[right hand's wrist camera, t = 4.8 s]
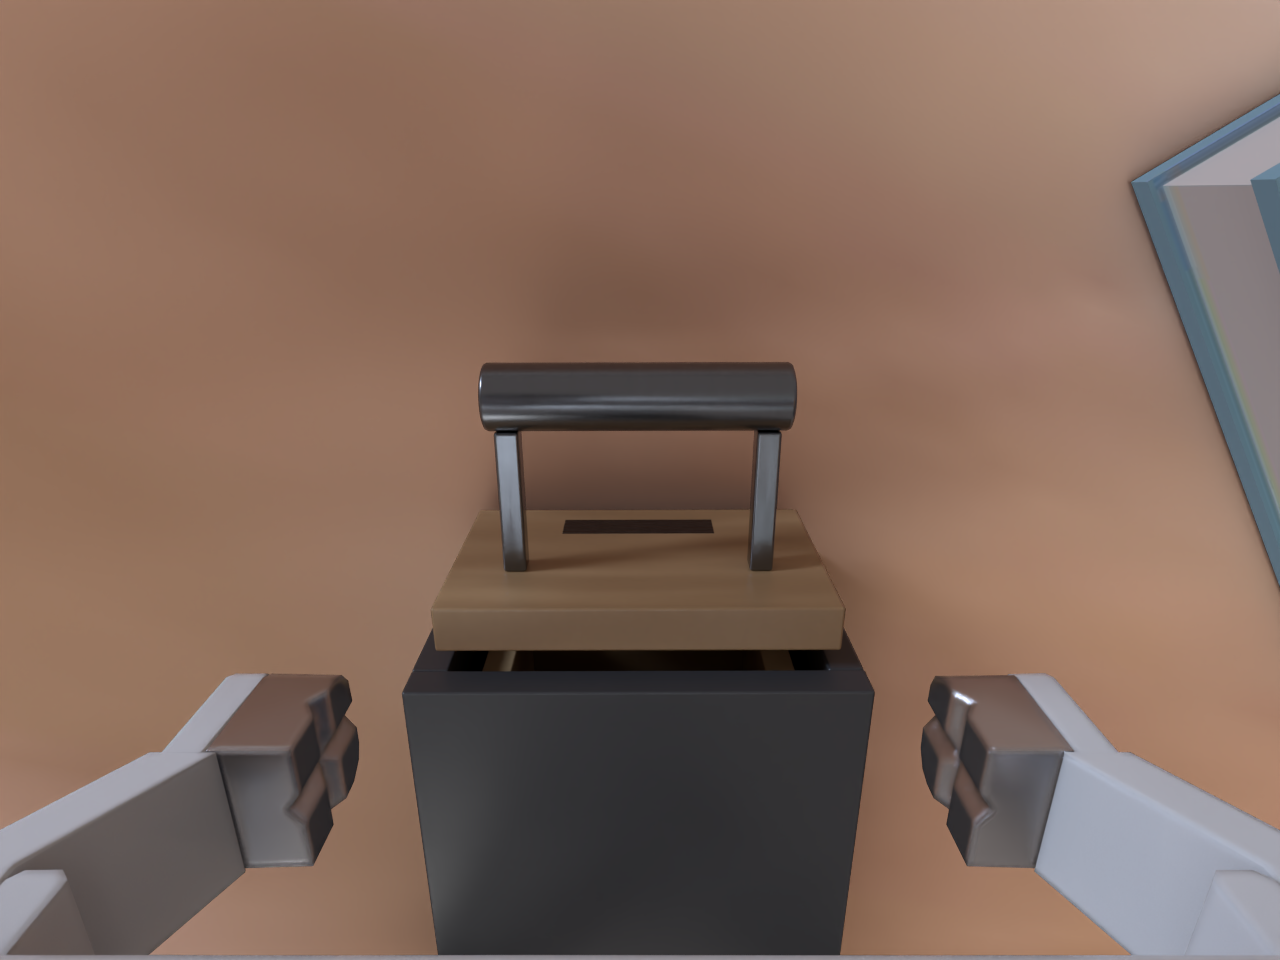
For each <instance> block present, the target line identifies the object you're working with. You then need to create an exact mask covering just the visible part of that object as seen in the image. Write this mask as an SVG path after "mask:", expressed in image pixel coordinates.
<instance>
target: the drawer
mask: <svg viewBox="0 0 1280 960" xmlns="http://www.w3.org/2000/svg"><path fill="white" fill-rule="evenodd" d="M478 402H479V412H480V418H481V422H482V424H483V427H484V429H485V430H487V431H496V432H495V434H494V444H495V457H496V471H497V484H498V497H499V510H481V511H480V512H479V514H478V516H477V518H476V520H475V522H474V524H473V526H472V528H471V530H470V532H469V534H468V536H467V538H466V540H465V542H464V544H463V546H462V548H461V550H460V552H459V554H458V556H457V558H456V560H455V562H454V564H453V566H452V568H451V570H450V572H449V574H448V576H447V578H446V580H445V582H444V584H443V586H442V588H441V590H440V592H439V594H438V596H437V598H436V600H435V602H434V604H433V606H432V608H431V616H432V624H433V633H434V641H435V649H436V650H437V651H489V652H488V655H487V658H486V661H485V664H484V667H483V670H482V671H778V670H795V669H794V666H793V663H792V660H791V657H790V654H789V651H788V650H840V649H841V645H842V636H843V627H844V618H845V607H844V605H843V603H842V601H841V599H840V597H839V595H838V593H837V591H836V589H835V587H834V585H833V583H832V581H831V579H830V577H829V575H828V573H827V571H826V569H825V567H824V565H823V563H822V561H821V559H820V557H819V555H818V553H817V551H816V549H815V547H814V545H813V543H812V541H811V539H810V537H809V535H808V533H807V531H806V529H805V527H804V525H803V523H802V521H801V519H800V517H799V515H798V513H797V511H796V510H777V496H778V482H779V467H780V453H781V438H782V434H781V432H780V430H789V429H791V427H792V425H793V422H794V419H795V414H796V407H797V380H796V374H795V370H794V367H793V365H792V364H791V363H789V362H627V363H486V364H484V365H483V366H482V368H481V372H480V376H479V384H478ZM749 430H754V446H753V464H752V482H751V500H750V510H526V499H525V483H524V467H523V450H522V434H521V431H749Z"/></svg>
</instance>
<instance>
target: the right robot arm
mask: <svg viewBox="0 0 1280 960" xmlns="http://www.w3.org/2000/svg"><path fill="white" fill-rule="evenodd" d="M351 702H352V697H351V693H350V688H349V683H348V680H347V679H345V678H344V677H343V676H342V675H310V674H234V675H231V676H228V677H226V678H225V679H224V680H223V682H222V683H221V684H220V685H219V686H218V687H217V689H216V690H215V691H214V692H213V693H212V694H211V695H210V697H209V698H208V699H207V700H206V701H205V702H204V704H203V705H202V706H201V707H200V708H199V709H198V711H197V712H196V713H195V714H194V715H193V716H192V717H191V719H190V720H189V721H188V722H187V723H186V724H185V726H184V727H183V728H182V729H181V730H180V731H179V733H178V734H177V735H176V736H175V737H174V738H173V740H172V741H171V742H170V743H169V744H168V745H167V746H166V748H165V749H164V750H163V751H162V752H149V753H147V754H145V755H144V756H142V757H140V758H138V759H136V760H134V761H132V762H130V763H128V764H126V765H124V766H122V767H120V768H119V769H117V770H115V771H113V772H111V773H109V774H107V775H105V776H103V777H101V778H99V779H97V780H95V781H93V782H92V783H90V784H88V785H86V786H84V787H82V788H80V789H78V790H76V791H74V792H72V793H70V794H68V795H67V796H65V797H63V798H61V799H59V800H57V801H55V802H53V803H51V804H49V805H47V806H45V807H43V808H41V809H40V810H38V811H36V812H34V813H32V814H30V815H28V816H26V817H24V818H22V819H20V820H18V821H16V822H15V823H13V824H11V825H9V826H7V827H5V828H3V829H1V830H0V960H1280V830H1279V829H1277V828H1275V827H1273V826H1271V825H1269V824H1267V823H1265V822H1263V821H1261V820H1259V819H1257V818H1255V817H1254V816H1252V815H1250V814H1248V813H1246V812H1244V811H1242V810H1240V809H1238V808H1236V807H1234V806H1232V805H1231V804H1229V803H1227V802H1225V801H1223V800H1221V799H1219V798H1217V797H1215V796H1213V795H1211V794H1209V793H1207V792H1206V791H1204V790H1202V789H1200V788H1198V787H1196V786H1194V785H1192V784H1190V783H1188V782H1186V781H1184V780H1183V779H1181V778H1179V777H1177V776H1175V775H1173V774H1171V773H1169V772H1167V771H1165V770H1163V769H1161V768H1159V767H1158V766H1156V765H1154V764H1152V763H1150V762H1148V761H1146V760H1144V759H1142V758H1140V757H1138V756H1136V755H1135V754H1133V753H1131V752H1118V751H1117V750H1116V749H1115V748H1114V746H1113V745H1112V744H1111V743H1110V742H1109V741H1108V740H1107V738H1106V737H1105V736H1104V735H1103V734H1102V733H1101V731H1100V730H1099V729H1098V728H1097V727H1096V726H1095V724H1094V723H1093V722H1092V721H1091V720H1090V719H1089V718H1088V716H1087V715H1086V714H1085V713H1084V712H1083V711H1082V709H1081V708H1080V707H1079V706H1078V705H1077V704H1076V702H1075V701H1074V700H1073V699H1072V698H1071V697H1070V696H1069V694H1068V693H1067V692H1066V691H1065V690H1064V689H1063V687H1062V686H1061V685H1060V684H1059V683H1058V682H1057V680H1056V679H1055V678H1054V677H1052V676H1050V675H1048V674H1046V673H1032V674H1008V675H983V676H935V678H934V680H933V682H932V684H931V686H930V691H929V697H928V702H929V704H930V706H931V708H932V709H933V711H934V713H935V716H934V717H933V718H932V719H931V720H930V721H929V722H928V723H927V724H926V725H925V726H924V727H923V734H922V742H921V756H922V767H923V771H924V775H925V778H926V782H927V785H928V787H929V789H930V791H931V793H932V795H933V798H934V799H936V800H937V801H939V802H940V803H941V804H943V805H944V806H945V807H947V808H948V809H949V813H948V819H947V826H948V828H949V830H950V832H951V835H952V837H953V839H954V841H955V843H956V845H957V847H958V849H959V851H960V853H961V855H962V857H963V859H964V861H965V863H966V865H967V866H981V867H1016V868H1035V872H1036V873H1037V874H1038V875H1039V876H1041V877H1042V878H1043V879H1044V880H1045V881H1046V882H1047V883H1049V884H1050V885H1051V886H1052V887H1053V888H1054V889H1056V890H1057V891H1058V892H1059V893H1060V894H1061V895H1063V896H1064V897H1065V898H1066V899H1067V900H1068V901H1070V902H1071V903H1072V904H1073V905H1074V906H1075V907H1077V908H1078V909H1079V910H1080V911H1081V912H1082V913H1083V914H1085V915H1086V916H1087V917H1088V918H1089V919H1090V920H1092V921H1093V922H1094V923H1095V924H1096V925H1097V926H1099V927H1100V928H1101V929H1102V930H1103V931H1104V932H1106V933H1107V934H1108V935H1109V936H1110V937H1111V938H1113V939H1114V940H1115V941H1116V942H1117V943H1118V944H1119V945H1121V946H1122V947H1123V948H1124V949H1125V950H1126V951H1128V952H1129V953H1130V954H1131V955H149V954H150V953H151V952H153V951H154V950H155V949H156V948H157V947H158V946H160V945H161V944H162V943H163V942H164V941H165V940H167V939H168V938H169V937H170V936H171V935H172V934H174V933H175V932H176V931H177V930H178V929H179V928H180V927H182V926H183V925H184V924H185V923H186V922H187V921H189V920H190V919H191V918H192V917H193V916H194V915H196V914H197V913H198V912H199V911H200V910H201V909H203V908H204V907H205V906H206V905H207V904H208V903H210V902H211V901H212V900H213V899H214V898H215V897H217V896H218V895H219V894H220V893H221V892H222V891H224V890H225V889H226V888H227V887H228V886H229V885H231V884H232V883H233V882H234V881H235V880H236V879H238V878H239V877H240V876H241V875H242V874H243V873H245V868H263V867H297V866H313V865H314V863H315V861H316V859H317V857H318V855H319V853H320V851H321V849H322V847H323V845H324V843H325V841H326V839H327V837H328V835H329V833H330V830H331V828H332V826H333V819H332V813H331V809H332V808H333V807H335V806H336V805H337V804H339V803H340V802H341V801H343V800H344V799H346V798H347V795H348V793H349V791H350V789H351V787H352V784H353V782H354V779H355V774H356V770H357V765H358V760H359V740H358V733H357V727H356V726H355V725H354V724H353V723H352V722H351V721H350V720H349V719H348V718H347V717H346V716H345V713H346V711H347V709H348V708H349V706H350V704H351Z"/></svg>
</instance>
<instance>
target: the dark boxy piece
mask: <svg viewBox="0 0 1280 960" xmlns="http://www.w3.org/2000/svg"><path fill="white" fill-rule="evenodd" d="M788 651H789V654H790V657H791V660H792V663H793V666H794V669H795V670H778V671H482V670H483V667H484V664H485V661H486V658H487V655H488V652H489V651H437V650H436V649H435V641H434V633H433V628H432V631H431V633H430V635H429V637H428V639H427V641H426V643H425V645H424V647H423V650H422V652H421V654H420V656H419V658H418V660H417V662H416V664H415V666H414V669H413V672H412V673H411V675H410V677H409V680H408V682H407V684H406V686H405V688H404V690H403V692H402V698H403V705H404V712H405V719H406V727H407V734H408V741H409V748H410V755H411V763H412V770H413V777H414V784H415V791H416V799H417V806H418V813H419V820H420V828H421V835H422V842H423V849H424V856H425V864H426V871H427V878H428V885H429V892H430V900H431V907H432V914H433V921H434V928H435V936H436V943H437V950H438V955H840V950H841V943H842V935H843V928H844V920H845V913H846V905H847V897H848V890H849V882H850V875H851V867H852V860H853V852H854V845H855V837H856V830H857V822H858V815H859V807H860V799H861V792H862V784H863V777H864V769H865V762H866V754H867V747H868V739H869V732H870V724H871V716H872V709H873V701H874V694H875V692H874V690H873V687H872V685H871V683H870V681H869V679H868V677H867V675H866V673H865V671H864V670H863V667H862V665H861V663H860V661H859V659H858V657H857V655H856V653H855V650H854V648H853V646H852V644H851V642H850V640H849V638H848V636H847V634H846V631H845V629H844V627H843V636H842V645H841V649H840V650H788Z"/></svg>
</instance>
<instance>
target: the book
mask: <svg viewBox="0 0 1280 960" xmlns="http://www.w3.org/2000/svg"><path fill="white" fill-rule="evenodd" d="M1131 183H1132V186H1133V189H1134V191H1135V194H1136V197H1137V200H1138V202H1139V205H1140V208H1141V210H1142V213H1143V216H1144V219H1145V221H1146V224H1147V227H1148V229H1149V232H1150V235H1151V238H1152V240H1153V243H1154V246H1155V248H1156V251H1157V254H1158V257H1159V259H1160V262H1161V265H1162V268H1163V270H1164V273H1165V276H1166V278H1167V281H1168V284H1169V287H1170V289H1171V292H1172V295H1173V297H1174V300H1175V303H1176V306H1177V308H1178V311H1179V314H1180V316H1181V319H1182V322H1183V325H1184V327H1185V330H1186V333H1187V335H1188V338H1189V341H1190V344H1191V346H1192V349H1193V352H1194V355H1195V357H1196V360H1197V363H1198V365H1199V368H1200V371H1201V374H1202V376H1203V379H1204V382H1205V384H1206V387H1207V390H1208V393H1209V395H1210V398H1211V401H1212V403H1213V406H1214V409H1215V412H1216V414H1217V417H1218V420H1219V422H1220V425H1221V428H1222V431H1223V433H1224V436H1225V439H1226V442H1227V444H1228V447H1229V450H1230V452H1231V455H1232V458H1233V461H1234V463H1235V466H1236V469H1237V471H1238V474H1239V477H1240V480H1241V482H1242V485H1243V488H1244V490H1245V493H1246V496H1247V499H1248V501H1249V504H1250V507H1251V510H1252V512H1253V515H1254V518H1255V520H1256V523H1257V526H1258V529H1259V531H1260V534H1261V537H1262V539H1263V542H1264V545H1265V548H1266V550H1267V553H1268V556H1269V558H1270V561H1271V564H1272V567H1273V569H1274V572H1275V575H1276V577H1277V580H1278V583H1279V586H1280V94H1279V95H1277V96H1276V97H1274V98H1272V99H1271V100H1269V101H1267V102H1265V103H1264V104H1262V105H1260V106H1259V107H1257V108H1255V109H1254V110H1252V111H1250V112H1249V113H1247V114H1245V115H1244V116H1242V117H1240V118H1239V119H1237V120H1235V121H1233V122H1232V123H1230V124H1228V125H1227V126H1225V127H1223V128H1222V129H1220V130H1218V131H1217V132H1215V133H1213V134H1212V135H1210V136H1208V137H1206V138H1205V139H1203V140H1201V141H1200V142H1198V143H1196V144H1195V145H1193V146H1191V147H1190V148H1188V149H1186V150H1185V151H1183V152H1181V153H1179V154H1178V155H1176V156H1174V157H1173V158H1171V159H1169V160H1168V161H1166V162H1164V163H1163V164H1161V165H1159V166H1158V167H1156V168H1154V169H1153V170H1151V171H1149V172H1147V173H1146V174H1144V175H1142V176H1141V177H1139V178H1137V179H1136V180H1134V181H1132V182H1131Z"/></svg>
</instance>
